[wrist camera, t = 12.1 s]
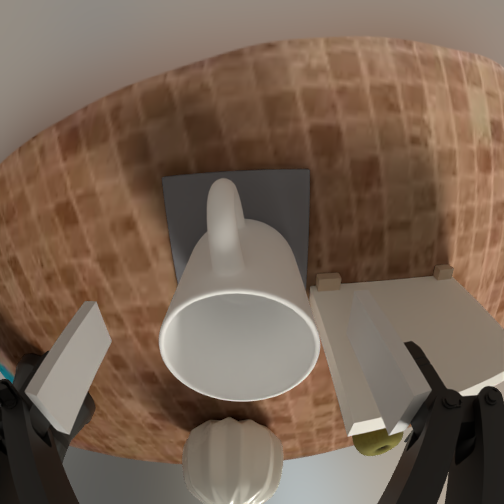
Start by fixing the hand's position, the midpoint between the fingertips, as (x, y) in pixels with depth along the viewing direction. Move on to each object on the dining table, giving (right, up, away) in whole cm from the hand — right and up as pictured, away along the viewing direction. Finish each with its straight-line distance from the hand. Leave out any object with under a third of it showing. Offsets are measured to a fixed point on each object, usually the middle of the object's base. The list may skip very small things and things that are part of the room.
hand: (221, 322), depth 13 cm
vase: (-1, -23, +22) cm, 32 cm away
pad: (0, +4, +9) cm, 10 cm away
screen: (+15, 0, +11) cm, 19 cm away
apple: (+20, -21, +21) cm, 36 cm away
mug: (+1, +4, +9) cm, 10 cm away
